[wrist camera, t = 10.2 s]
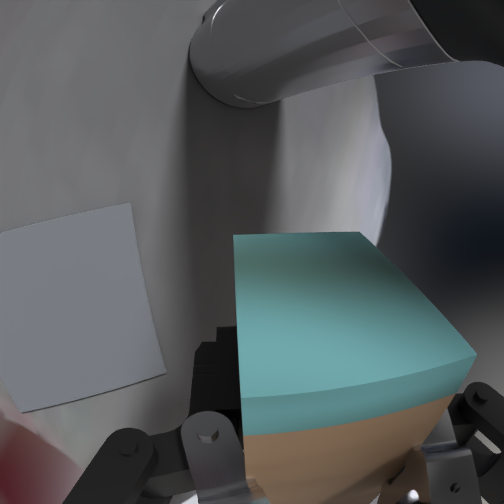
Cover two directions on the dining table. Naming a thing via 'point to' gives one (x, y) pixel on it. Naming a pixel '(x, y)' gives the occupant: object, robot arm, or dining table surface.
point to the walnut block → (336, 365)
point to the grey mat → (74, 309)
